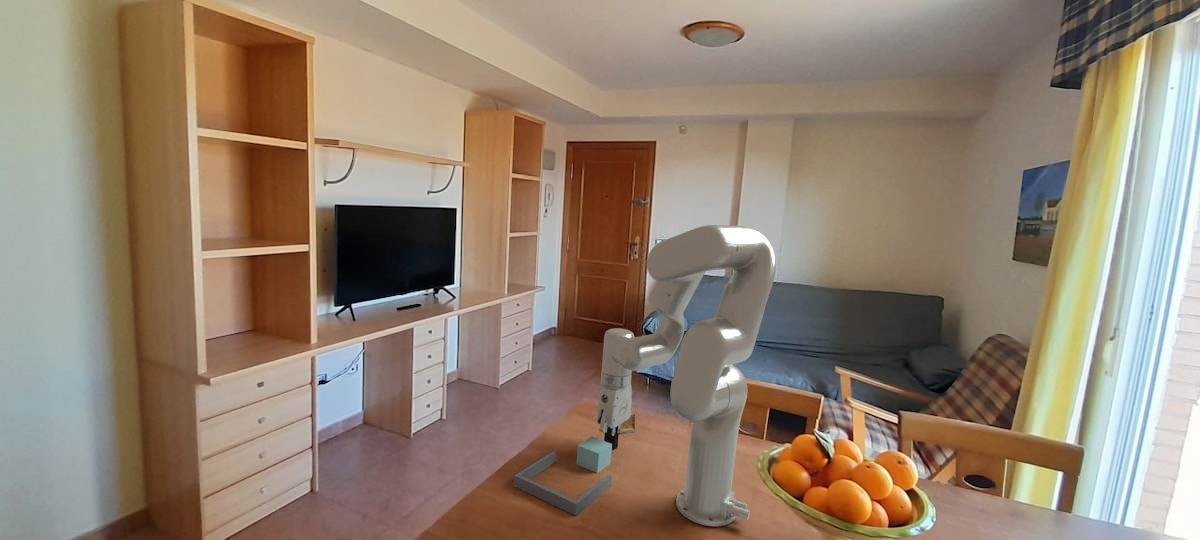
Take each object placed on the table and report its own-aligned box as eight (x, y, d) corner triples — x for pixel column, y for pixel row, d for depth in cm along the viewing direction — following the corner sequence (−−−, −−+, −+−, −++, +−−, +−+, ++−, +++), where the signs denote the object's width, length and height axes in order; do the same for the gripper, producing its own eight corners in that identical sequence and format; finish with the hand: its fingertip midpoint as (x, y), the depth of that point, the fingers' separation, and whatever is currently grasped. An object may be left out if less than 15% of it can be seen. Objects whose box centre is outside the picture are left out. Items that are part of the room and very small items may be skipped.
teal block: (610, 463, 123) (612, 444, 122) (597, 473, 118) (598, 453, 117) (590, 455, 126) (591, 436, 125) (576, 464, 121) (577, 445, 120)
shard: (634, 418, 150) (634, 412, 150) (652, 428, 144) (652, 422, 144) (605, 426, 143) (606, 420, 143) (623, 437, 137) (623, 431, 137)
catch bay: (611, 485, 113) (612, 475, 112) (575, 515, 101) (576, 504, 101) (552, 460, 122) (553, 451, 121) (513, 486, 110) (514, 475, 110)
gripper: (613, 390, 117) (607, 464, 120) (643, 374, 130) (637, 441, 132) (586, 382, 121) (581, 453, 124) (618, 367, 134) (613, 432, 136)
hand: (610, 447), depth 128 cm, fingers closed
